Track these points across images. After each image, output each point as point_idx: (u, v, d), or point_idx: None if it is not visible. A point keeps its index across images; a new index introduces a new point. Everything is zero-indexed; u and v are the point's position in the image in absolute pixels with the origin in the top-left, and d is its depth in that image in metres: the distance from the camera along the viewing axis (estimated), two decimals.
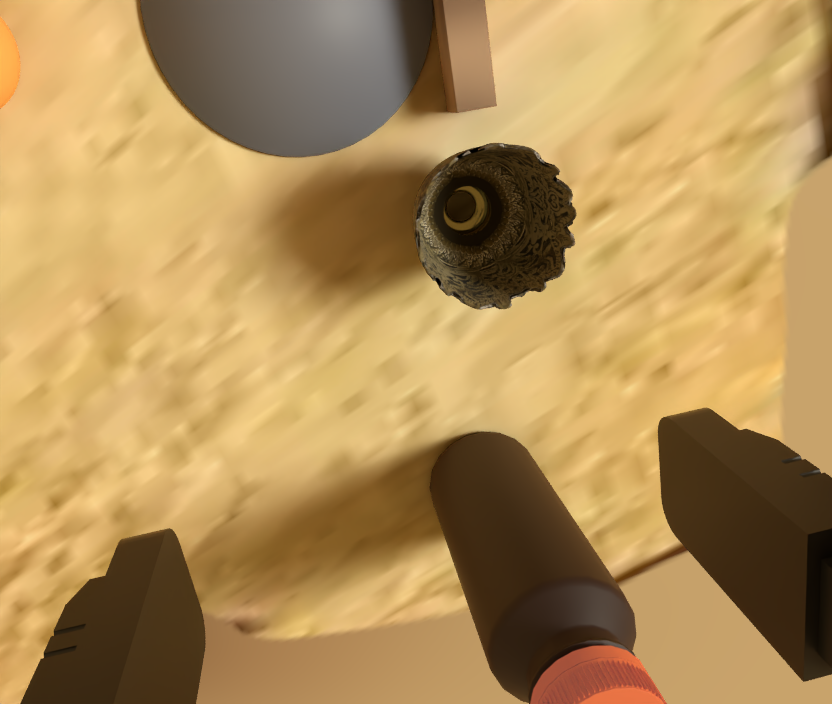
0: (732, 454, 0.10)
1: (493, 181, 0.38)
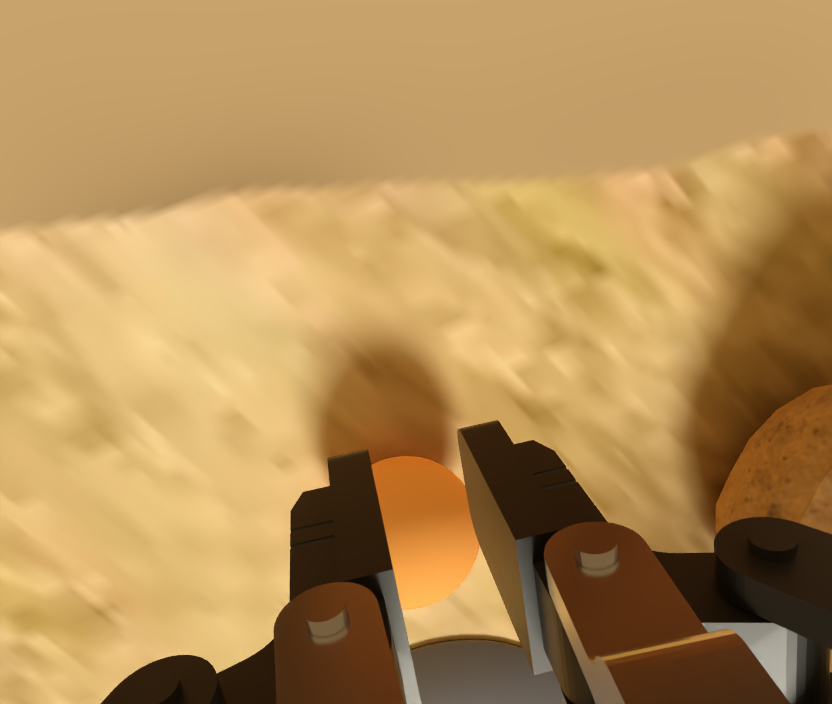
0: (493, 465, 0.11)
1: None
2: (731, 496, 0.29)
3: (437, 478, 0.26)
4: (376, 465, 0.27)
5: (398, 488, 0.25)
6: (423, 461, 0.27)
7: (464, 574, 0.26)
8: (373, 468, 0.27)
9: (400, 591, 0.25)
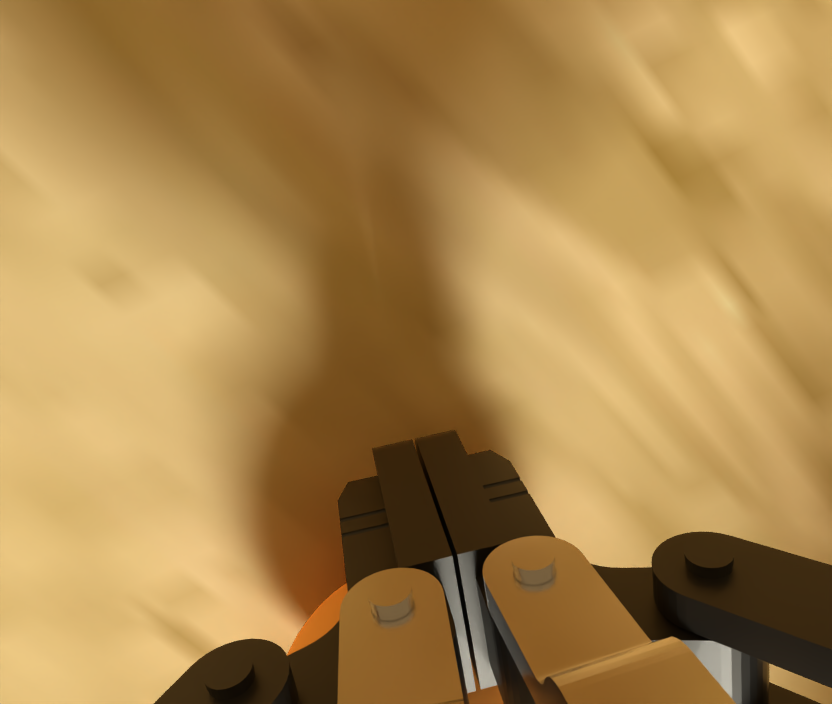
0: (445, 476, 0.11)
1: None
2: None
3: None
4: None
5: None
6: None
7: None
8: None
9: None
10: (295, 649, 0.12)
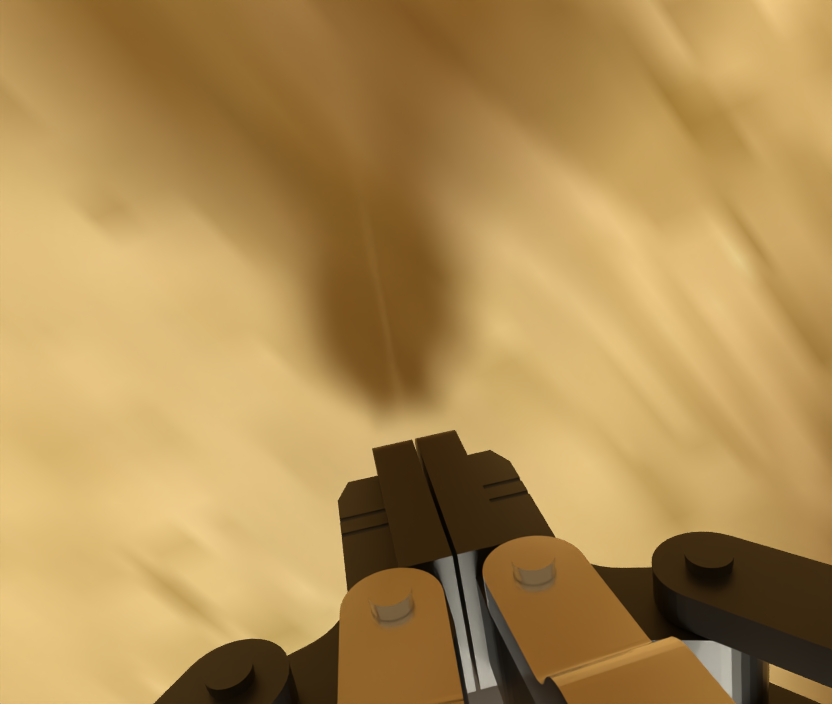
0: (445, 476, 0.11)
1: None
2: None
3: None
4: None
5: None
6: None
7: None
8: None
9: None
10: None
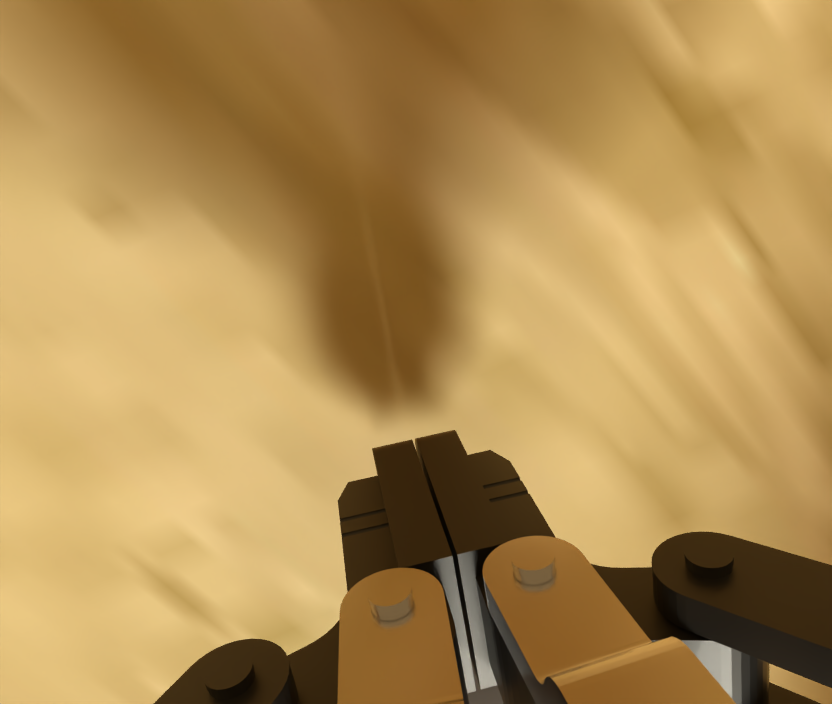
0: (445, 476, 0.11)
1: None
2: None
3: None
4: None
5: None
6: None
7: None
8: None
9: None
10: None
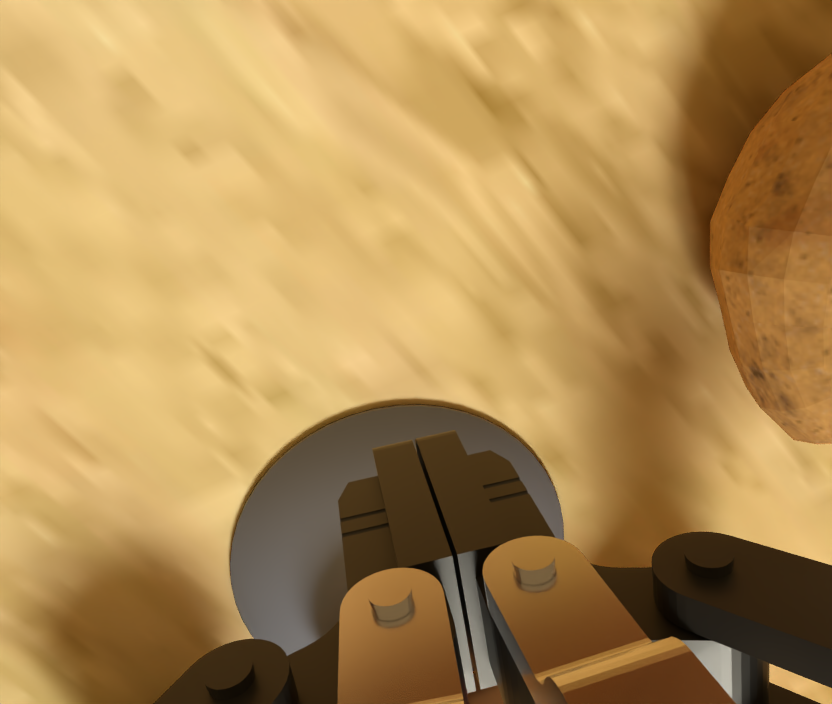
0: (445, 476, 0.11)
1: None
2: (729, 196, 0.24)
3: None
4: None
5: None
6: None
7: None
8: None
9: None
10: None
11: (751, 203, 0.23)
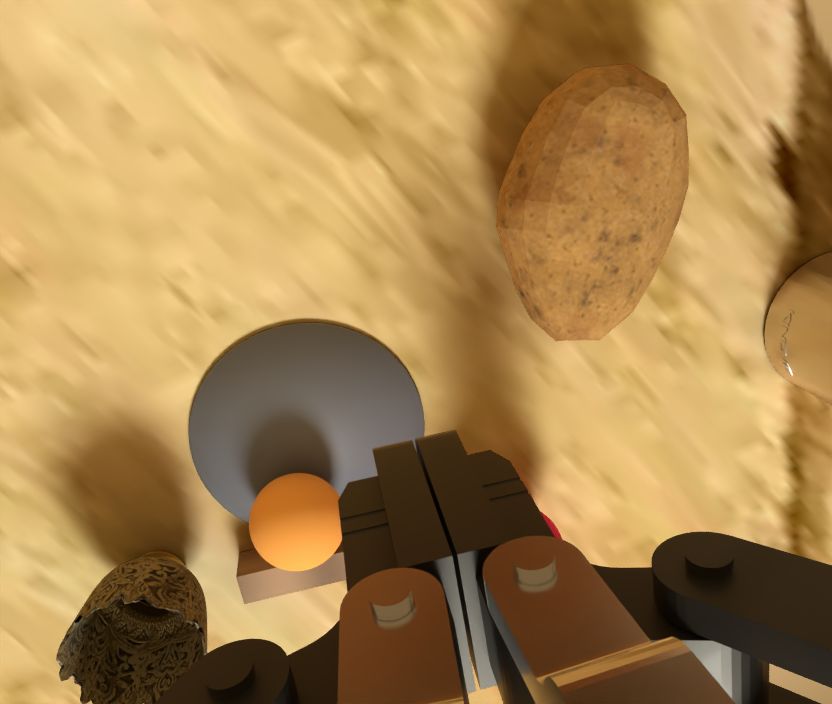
0: (445, 476, 0.11)
1: None
2: None
3: (313, 491, 0.41)
4: (275, 482, 0.41)
5: (286, 500, 0.40)
6: (306, 479, 0.41)
7: (332, 550, 0.41)
8: (273, 484, 0.41)
9: (289, 563, 0.40)
10: None
11: (508, 183, 0.36)
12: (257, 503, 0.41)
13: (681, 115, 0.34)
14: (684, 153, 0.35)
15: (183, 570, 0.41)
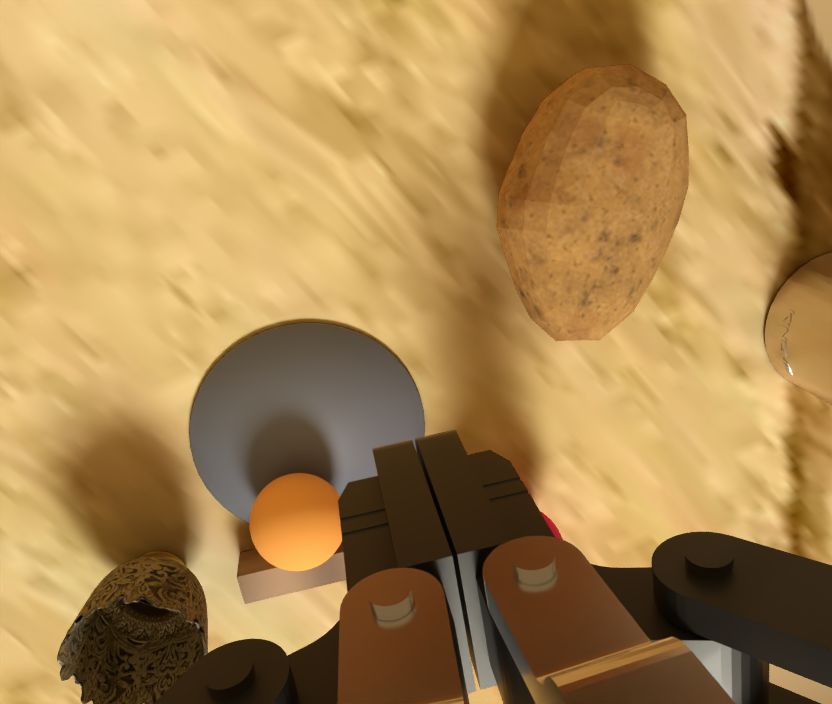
0: (445, 476, 0.11)
1: None
2: None
3: (313, 491, 0.41)
4: (276, 482, 0.42)
5: (286, 500, 0.40)
6: (306, 479, 0.41)
7: (332, 550, 0.41)
8: (273, 484, 0.41)
9: (290, 562, 0.40)
10: None
11: (508, 183, 0.36)
12: (257, 504, 0.41)
13: (681, 115, 0.34)
14: (684, 153, 0.35)
15: (184, 570, 0.41)
